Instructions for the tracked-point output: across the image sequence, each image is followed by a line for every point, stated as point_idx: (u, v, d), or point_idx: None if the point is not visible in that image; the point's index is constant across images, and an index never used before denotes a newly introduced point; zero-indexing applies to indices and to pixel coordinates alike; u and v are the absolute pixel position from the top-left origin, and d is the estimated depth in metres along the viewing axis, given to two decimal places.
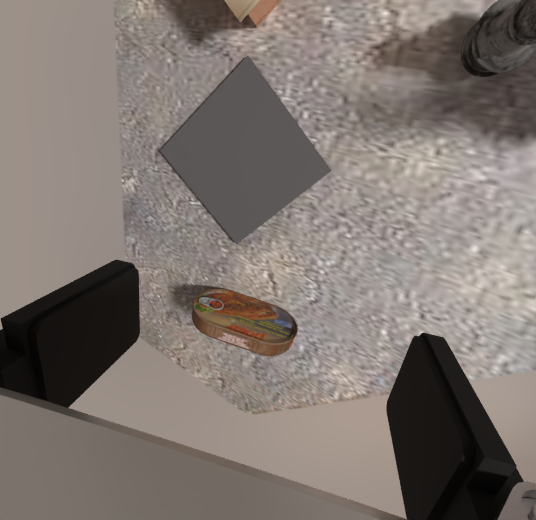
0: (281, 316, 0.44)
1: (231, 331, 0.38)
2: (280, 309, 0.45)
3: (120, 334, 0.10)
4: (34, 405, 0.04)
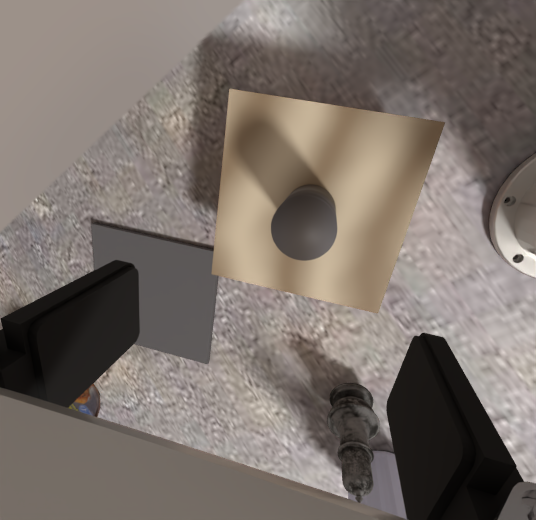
0: (91, 401, 0.46)
1: None
2: (96, 392, 0.46)
3: (120, 334, 0.10)
4: (34, 405, 0.04)
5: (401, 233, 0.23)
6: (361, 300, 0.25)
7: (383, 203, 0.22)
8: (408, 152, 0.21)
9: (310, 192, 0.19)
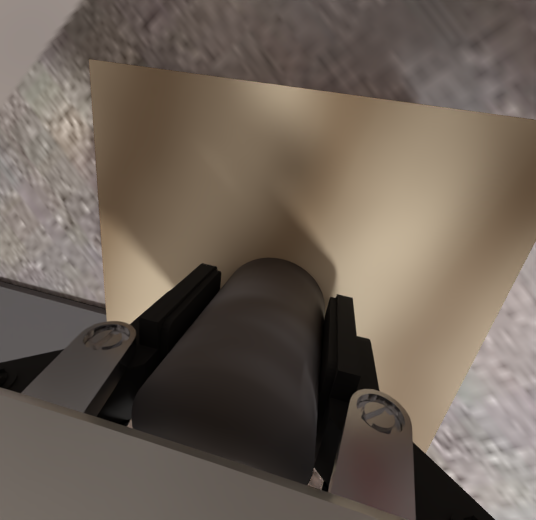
0: None
1: None
2: None
3: None
4: (34, 405, 0.04)
5: (463, 360, 0.11)
6: None
7: (426, 301, 0.10)
8: (491, 198, 0.09)
9: (246, 320, 0.07)
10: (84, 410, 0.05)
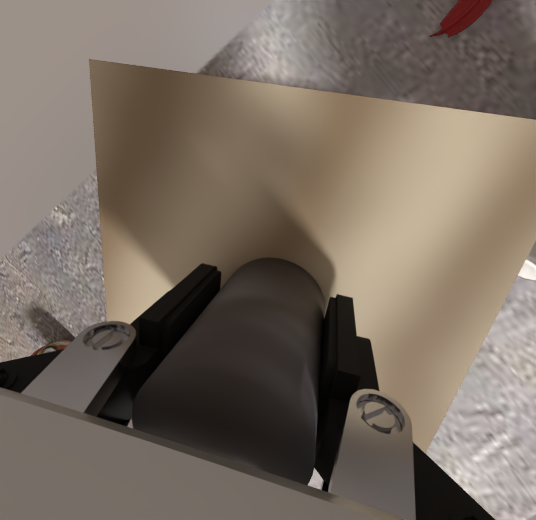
0: None
1: None
2: None
3: None
4: (34, 405, 0.04)
5: (463, 360, 0.11)
6: None
7: (426, 301, 0.10)
8: (491, 198, 0.09)
9: (247, 320, 0.07)
10: (84, 410, 0.05)
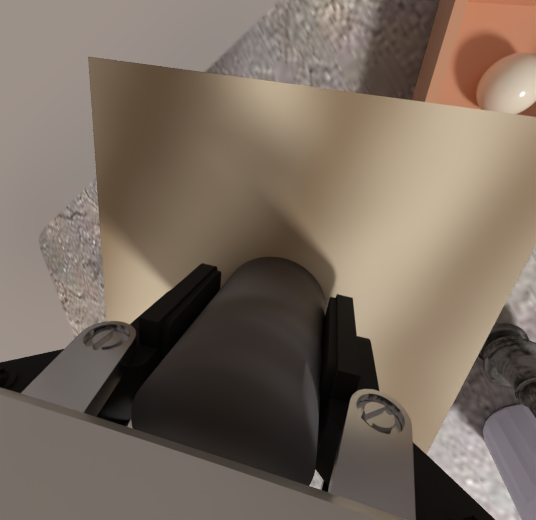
0: None
1: None
2: None
3: None
4: (34, 405, 0.04)
5: (465, 360, 0.11)
6: None
7: (428, 301, 0.10)
8: (493, 196, 0.09)
9: (247, 320, 0.07)
10: (84, 410, 0.05)
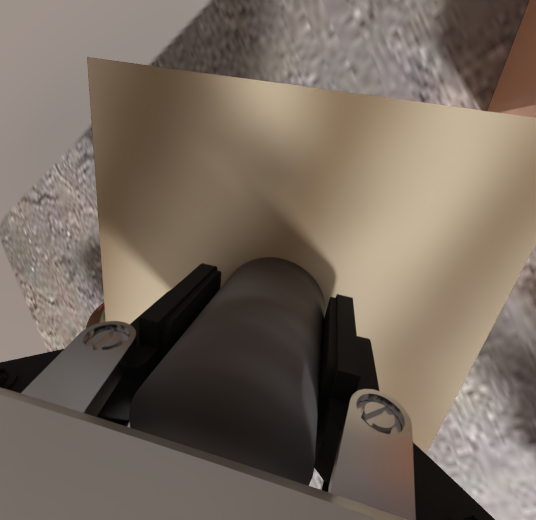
0: None
1: None
2: None
3: None
4: (34, 405, 0.04)
5: (464, 360, 0.11)
6: None
7: (427, 301, 0.10)
8: (492, 197, 0.09)
9: (245, 321, 0.07)
10: (84, 410, 0.05)
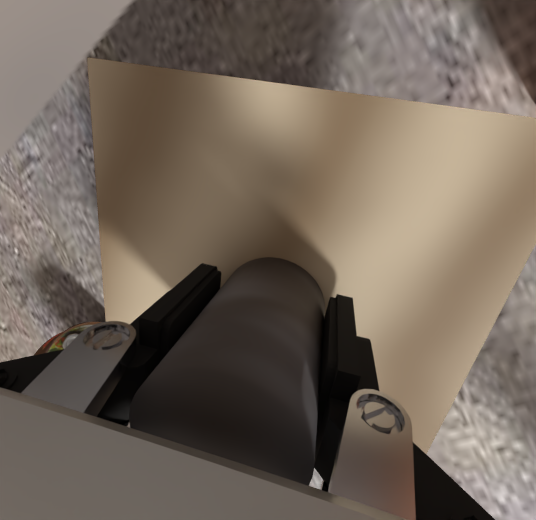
0: None
1: None
2: None
3: None
4: (34, 405, 0.04)
5: (464, 360, 0.11)
6: None
7: (427, 301, 0.10)
8: (492, 197, 0.09)
9: (246, 321, 0.07)
10: (84, 410, 0.05)
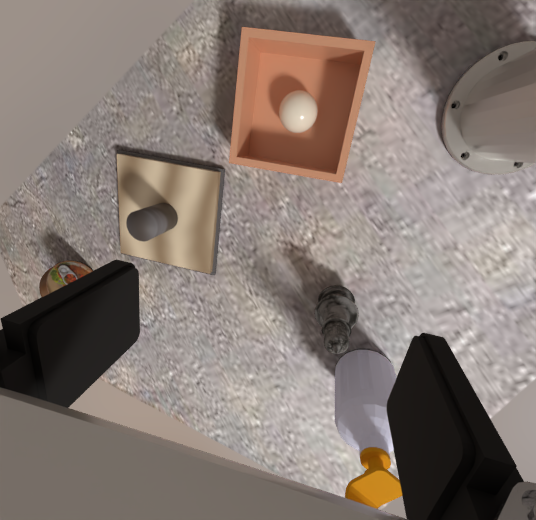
0: None
1: None
2: None
3: (120, 334, 0.10)
4: (34, 405, 0.04)
5: (211, 228, 0.43)
6: (200, 266, 0.45)
7: (199, 212, 0.42)
8: (205, 186, 0.41)
9: (147, 208, 0.39)
10: None
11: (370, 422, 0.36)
